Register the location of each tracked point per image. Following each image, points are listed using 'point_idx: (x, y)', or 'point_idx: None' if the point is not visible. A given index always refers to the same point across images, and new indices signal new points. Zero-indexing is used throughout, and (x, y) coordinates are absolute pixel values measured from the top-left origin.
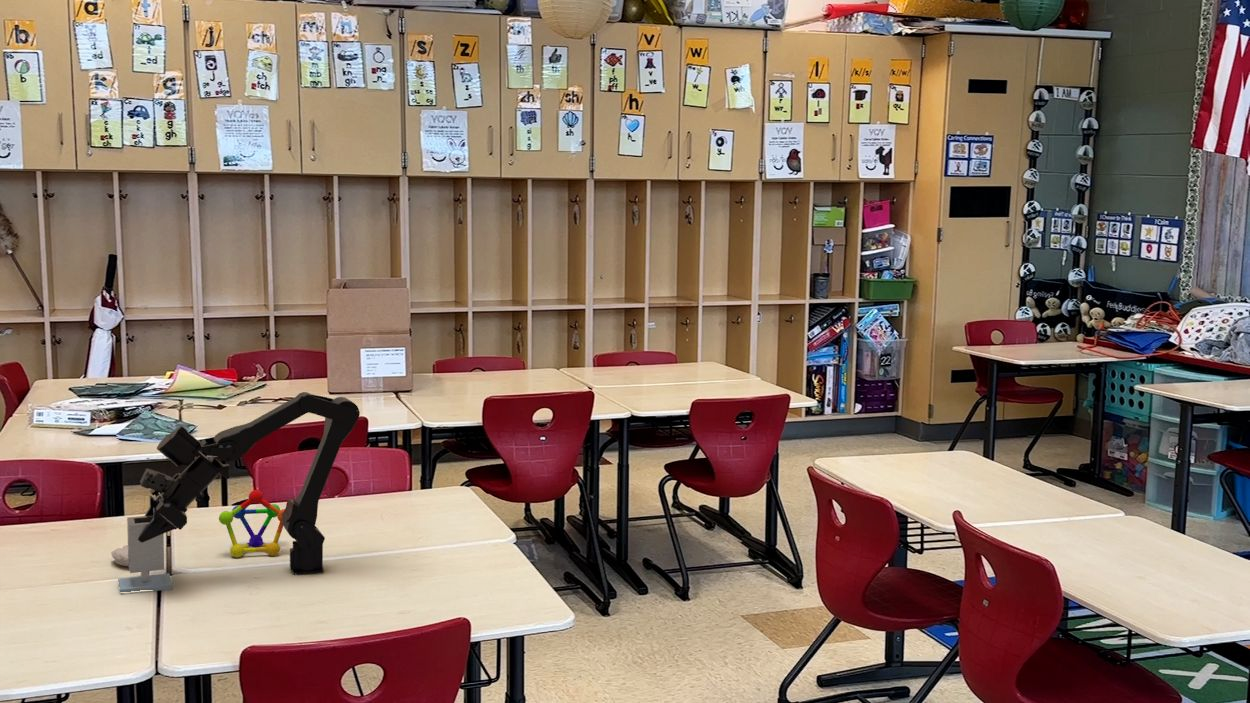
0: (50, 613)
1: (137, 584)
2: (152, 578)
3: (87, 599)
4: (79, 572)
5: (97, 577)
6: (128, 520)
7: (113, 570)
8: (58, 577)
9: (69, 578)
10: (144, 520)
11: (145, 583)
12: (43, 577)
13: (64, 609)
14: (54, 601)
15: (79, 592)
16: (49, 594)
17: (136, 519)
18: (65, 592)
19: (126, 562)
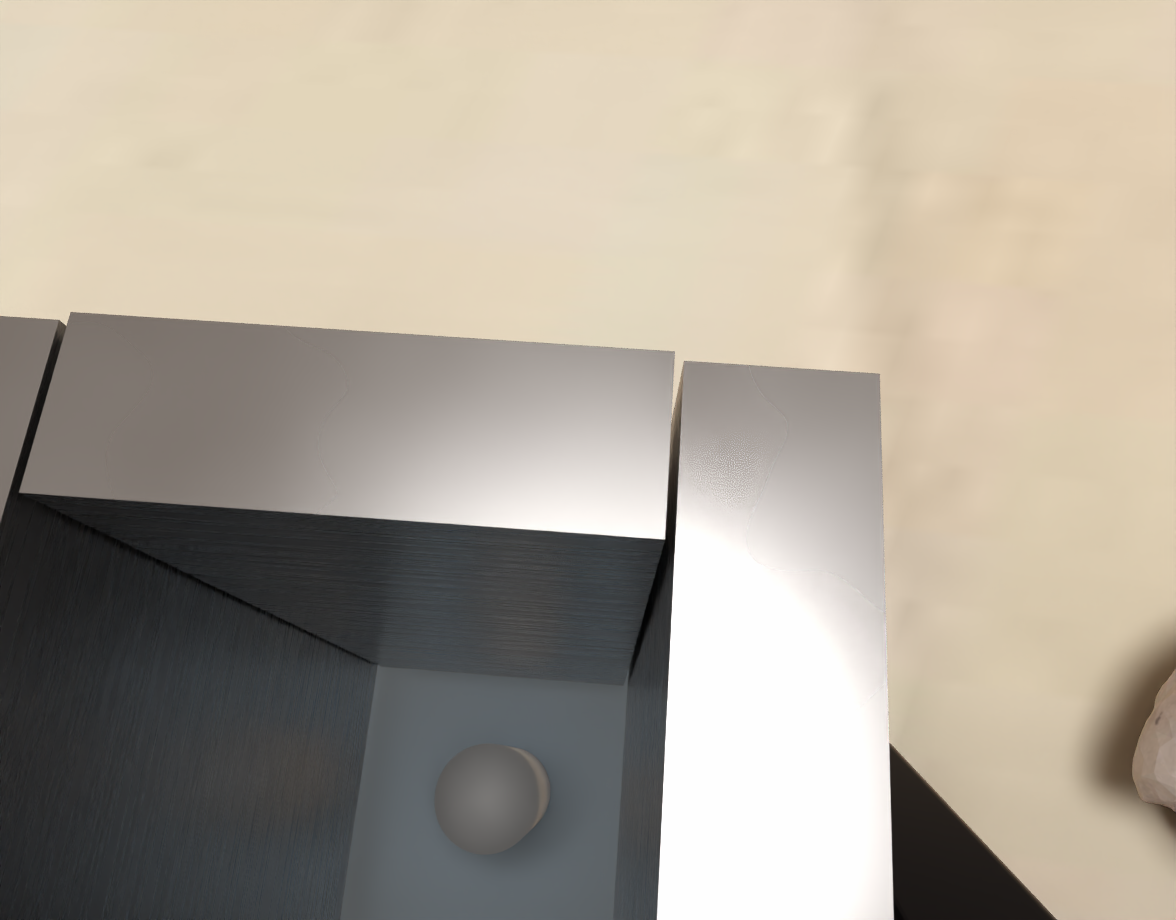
0: (159, 42)
1: (434, 696)
2: (578, 883)
3: (356, 281)
4: (1166, 292)
5: (964, 411)
6: (486, 364)
7: (1161, 568)
8: (1056, 141)
9: (1002, 210)
10: (654, 902)
11: (431, 780)
12: (1087, 51)
13: (197, 123)
14: (425, 79)
15: (573, 245)
16: (616, 61)
17: (674, 635)
18: (619, 157)
19: (1171, 678)
